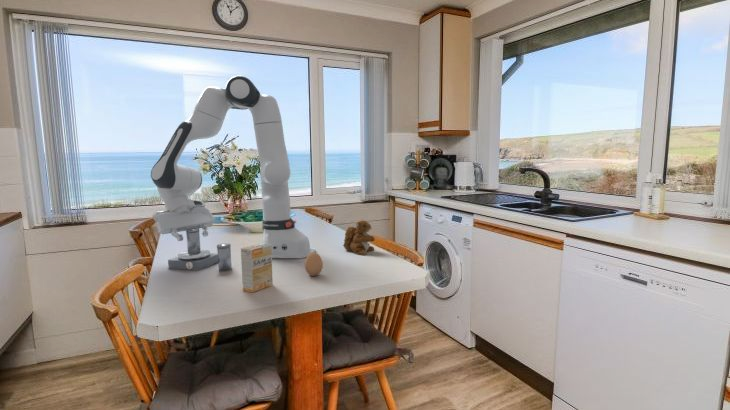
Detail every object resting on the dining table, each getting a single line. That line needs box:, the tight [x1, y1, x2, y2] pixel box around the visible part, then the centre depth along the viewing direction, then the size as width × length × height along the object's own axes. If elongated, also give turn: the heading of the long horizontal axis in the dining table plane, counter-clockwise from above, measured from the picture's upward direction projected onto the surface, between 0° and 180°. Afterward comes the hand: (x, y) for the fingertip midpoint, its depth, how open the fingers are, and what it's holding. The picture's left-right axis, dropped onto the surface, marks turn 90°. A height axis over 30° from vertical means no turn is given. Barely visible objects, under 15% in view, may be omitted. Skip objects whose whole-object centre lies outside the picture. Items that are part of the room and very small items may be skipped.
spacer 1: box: [185, 228, 202, 255], centre depth 142 cm, size 5×5×9 cm
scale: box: [167, 252, 218, 271], centre depth 143 cm, size 13×13×3 cm
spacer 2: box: [216, 242, 233, 272], centre depth 136 cm, size 5×5×9 cm
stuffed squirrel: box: [342, 219, 376, 256], centre depth 159 cm, size 10×14×13 cm
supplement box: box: [240, 242, 274, 293], centre depth 116 cm, size 8×5×13 cm, turn 148°
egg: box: [304, 252, 324, 277], centre depth 128 cm, size 6×6×8 cm
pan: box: [177, 249, 211, 260], centre depth 143 cm, size 11×11×1 cm
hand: (193, 237), depth 141 cm, fingers open, 8 cm apart
